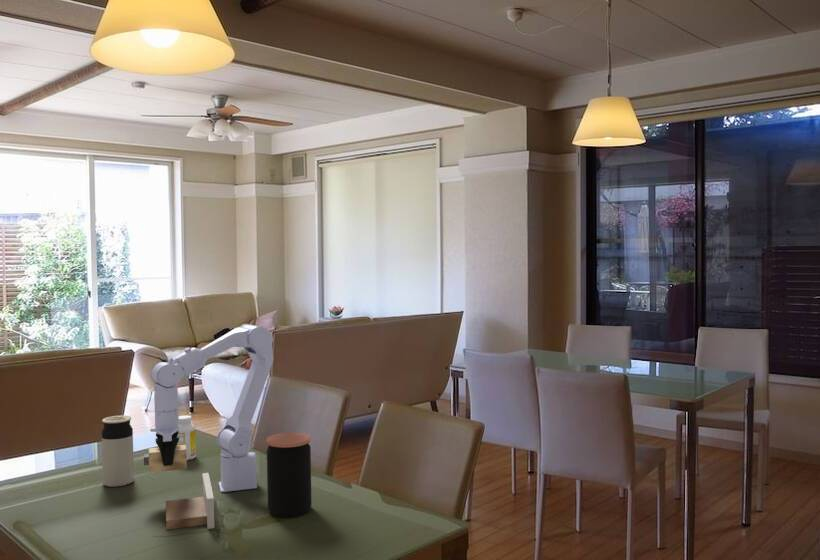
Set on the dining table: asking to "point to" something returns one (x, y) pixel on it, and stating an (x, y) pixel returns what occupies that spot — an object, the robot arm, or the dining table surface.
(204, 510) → the brown rectangular panel
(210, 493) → the shelf board
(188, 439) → the supplement bottle
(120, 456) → the travel mug
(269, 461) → the coffee jar
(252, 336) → the robot arm
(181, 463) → the tan rectangular block
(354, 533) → the dining table surface
